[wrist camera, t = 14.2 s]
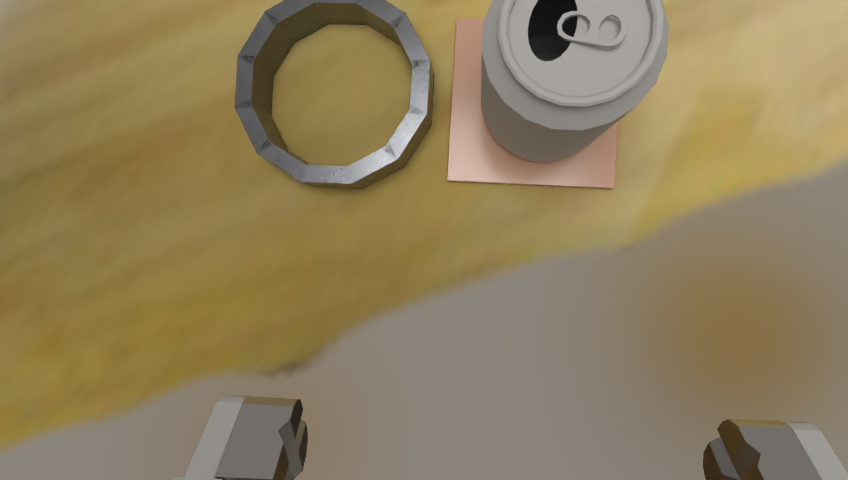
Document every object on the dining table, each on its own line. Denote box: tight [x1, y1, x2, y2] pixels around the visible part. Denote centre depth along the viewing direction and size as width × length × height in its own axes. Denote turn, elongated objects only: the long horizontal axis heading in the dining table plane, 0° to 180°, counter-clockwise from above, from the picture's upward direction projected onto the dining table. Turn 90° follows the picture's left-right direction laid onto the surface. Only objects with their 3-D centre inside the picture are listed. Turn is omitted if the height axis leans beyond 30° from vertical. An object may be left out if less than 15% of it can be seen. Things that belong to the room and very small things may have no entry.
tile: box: [447, 18, 618, 189], centre depth 32 cm, size 10×10×1 cm
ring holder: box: [235, 0, 434, 189], centre depth 32 cm, size 12×12×3 cm
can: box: [481, 0, 669, 162], centre depth 26 cm, size 8×8×12 cm
